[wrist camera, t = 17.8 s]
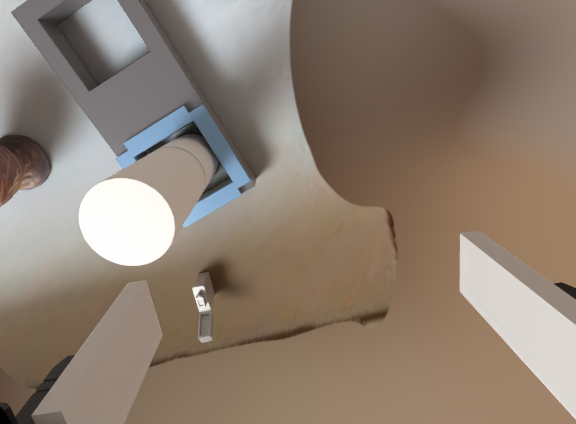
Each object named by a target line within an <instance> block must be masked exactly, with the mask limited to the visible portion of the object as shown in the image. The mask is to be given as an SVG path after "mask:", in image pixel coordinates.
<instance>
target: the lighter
mask: <svg viewBox="0 0 576 424" xmlns="http://www.w3.org/2000/svg"><path fill="white" fill-rule="evenodd" d="M192 289H193V293H194V296H195V299H196V303H197V306H198V309H199V311H200V313H199V326H198V338H199V340H200V341H201V342H207V341H212V340H213V314H212V312H211V311H210V309H211V306H212V302H213V299H214V295H215V293H214V289H213V285H212V282H211V278H210V275H209V272H204V273H199V274H198V276H197V278H196V281H195V283H194V286H193V288H192Z"/></svg>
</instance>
